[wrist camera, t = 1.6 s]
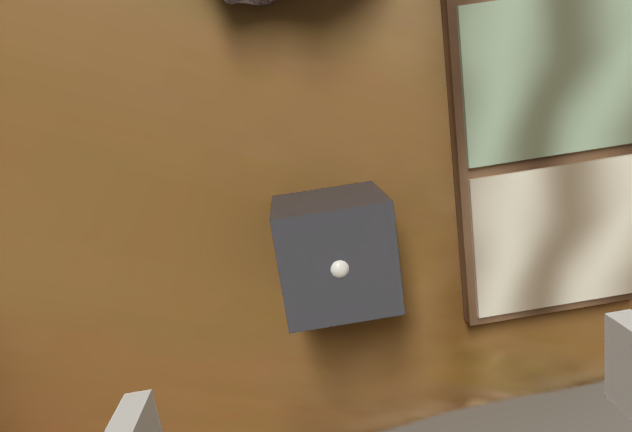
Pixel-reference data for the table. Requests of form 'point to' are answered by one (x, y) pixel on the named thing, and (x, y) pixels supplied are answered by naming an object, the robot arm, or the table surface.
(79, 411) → the table surface
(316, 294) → the die
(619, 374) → the robot arm
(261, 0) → the rock
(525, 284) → the board
